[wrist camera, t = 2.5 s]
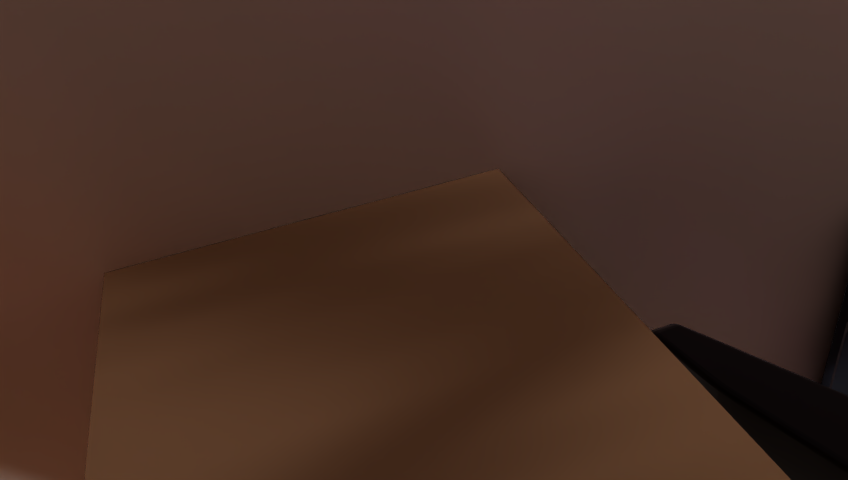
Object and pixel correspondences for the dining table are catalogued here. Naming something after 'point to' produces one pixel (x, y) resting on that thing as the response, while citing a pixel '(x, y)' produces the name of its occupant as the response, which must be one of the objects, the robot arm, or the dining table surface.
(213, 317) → the walnut block
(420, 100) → the dining table surface
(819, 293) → the dining table surface
